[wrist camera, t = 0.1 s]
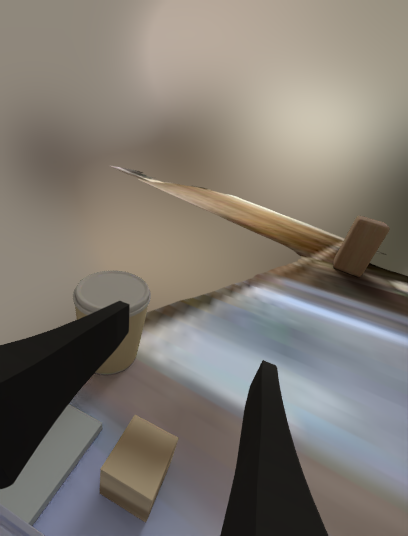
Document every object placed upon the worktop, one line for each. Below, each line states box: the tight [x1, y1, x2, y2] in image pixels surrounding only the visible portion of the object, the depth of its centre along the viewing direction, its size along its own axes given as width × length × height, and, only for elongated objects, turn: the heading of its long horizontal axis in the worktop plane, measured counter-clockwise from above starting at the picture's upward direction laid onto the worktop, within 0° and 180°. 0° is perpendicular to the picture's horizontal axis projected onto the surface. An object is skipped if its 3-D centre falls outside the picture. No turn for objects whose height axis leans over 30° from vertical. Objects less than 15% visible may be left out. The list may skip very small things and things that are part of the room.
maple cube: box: [100, 415, 178, 523], centre depth 23 cm, size 5×5×5 cm
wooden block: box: [333, 216, 390, 277], centre depth 88 cm, size 10×10×20 cm
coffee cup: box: [73, 271, 151, 375], centre depth 33 cm, size 9×9×12 cm
